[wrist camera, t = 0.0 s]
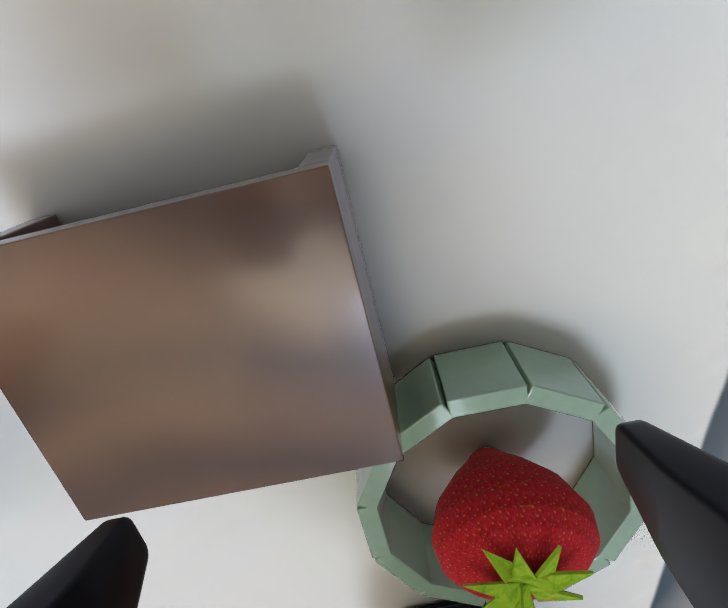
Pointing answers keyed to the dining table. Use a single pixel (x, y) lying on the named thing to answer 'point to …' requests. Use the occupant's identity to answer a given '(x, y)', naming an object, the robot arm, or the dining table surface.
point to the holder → (480, 394)
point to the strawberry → (513, 531)
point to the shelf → (198, 343)
